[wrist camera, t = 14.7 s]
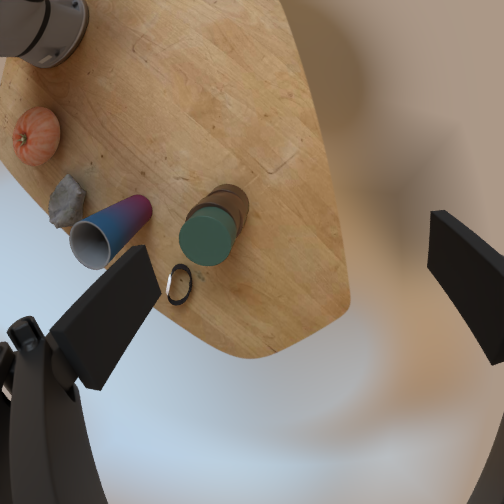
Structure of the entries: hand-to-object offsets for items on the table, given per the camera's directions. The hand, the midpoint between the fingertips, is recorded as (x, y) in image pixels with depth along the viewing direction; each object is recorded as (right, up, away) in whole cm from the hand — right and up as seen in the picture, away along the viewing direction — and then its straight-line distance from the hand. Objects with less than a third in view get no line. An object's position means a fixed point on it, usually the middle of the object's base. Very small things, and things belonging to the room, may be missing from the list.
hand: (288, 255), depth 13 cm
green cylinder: (-6, +3, +23) cm, 24 cm away
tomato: (-39, +22, +30) cm, 54 cm away
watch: (-14, -6, +37) cm, 40 cm away
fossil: (-33, +10, +35) cm, 49 cm away
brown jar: (-5, +7, +33) cm, 34 cm away
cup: (-20, +7, +35) cm, 41 cm away
